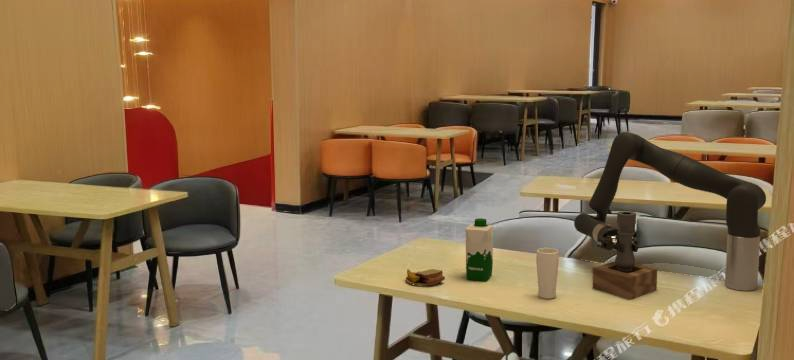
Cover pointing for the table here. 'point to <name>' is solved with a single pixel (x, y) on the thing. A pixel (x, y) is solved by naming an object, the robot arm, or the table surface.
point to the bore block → (625, 280)
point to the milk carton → (479, 250)
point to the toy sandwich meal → (425, 277)
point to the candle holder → (626, 241)
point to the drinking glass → (547, 272)
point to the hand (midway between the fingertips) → (629, 249)
